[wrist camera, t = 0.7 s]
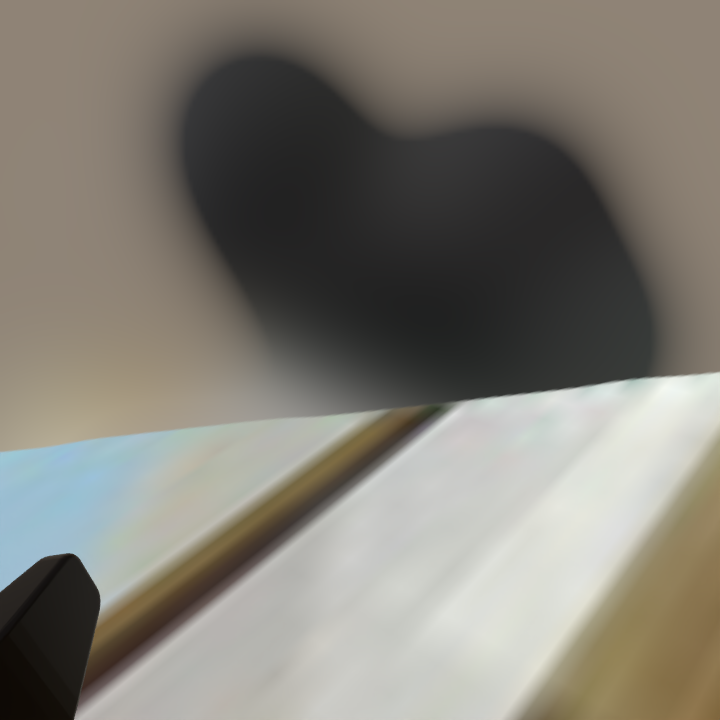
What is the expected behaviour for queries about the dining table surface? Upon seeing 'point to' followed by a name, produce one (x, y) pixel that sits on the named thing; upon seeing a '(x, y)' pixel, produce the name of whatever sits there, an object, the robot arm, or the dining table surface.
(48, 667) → the robot arm
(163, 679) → the dining table surface
